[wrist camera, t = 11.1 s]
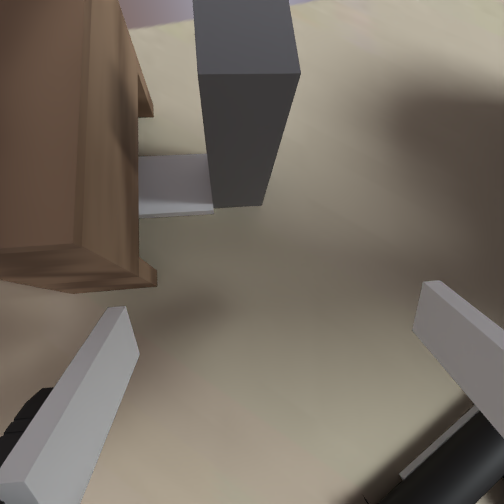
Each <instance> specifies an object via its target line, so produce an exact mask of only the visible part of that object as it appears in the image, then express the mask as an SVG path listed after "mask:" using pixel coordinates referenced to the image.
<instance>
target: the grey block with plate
mask: <svg viewBox="0 0 504 504" xmlns="http://www.w3.org/2000/svg"><path fill="white" fill-rule="evenodd" d="M193 11H194V26H195V41H196V56H197V71H198V81H199V90H200V98H201V107H202V115H203V124H204V133H205V141H206V150H207V154H187V155H162V156H138V184H139V219H140V218H156V217H173V216H189V215H205V214H214V211H213V208H225V207H242V206H259V205H262V203H263V199H264V196H265V193H266V189H267V186H268V182H269V179H270V176H271V172H272V169H273V166H274V162H275V159H276V155H277V152H278V149H279V145H280V142H281V139H282V135H283V132H284V129H285V125H286V122H287V118H288V115H289V112H290V108H291V105H292V102H293V98H294V95H295V91H296V88H297V85H298V81H299V78H300V75H301V71H300V65H299V59H298V53H297V48H296V42H295V36H294V30H293V24H292V18H291V12H290V6H289V0H193Z"/></svg>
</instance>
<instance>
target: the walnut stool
mask: <svg viewBox="0 0 504 504" xmlns="http://www.w3.org/2000/svg"><path fill="white" fill-rule="evenodd" d="M138 117H154V115H153V103H152V100H151V97H150V94H149V91H148V88H147V85H146V82H145V79H144V76H143V73H142V70H141V67H140V64H139V61H138V58H137V55H136V52H135V49H134V46H133V44H132V41H131V38H130V35H129V32H128V29H127V26H126V23H125V20H124V17H123V14H122V11H121V8H120V5H119V2H118V0H0V280H4V281H9V282H14V283H20V284H25V285H30V286H35V287H40V288H45V289H51V290H56V291H61V292H66V293H71V294H75V293H87V292H99V291H110V290H122V289H133V288H145V287H157V270H155V269H154V268H153V267H151V266H150V265H149V264H147V263H146V262H145V261H143V260H142V259H141V258H140V257H139V184H138Z"/></svg>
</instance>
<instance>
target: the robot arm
mask: <svg viewBox="0 0 504 504" xmlns="http://www.w3.org/2000/svg"><path fill="white" fill-rule="evenodd" d="M412 331H413V332H414V333H415V334H416V336H417V337H418V338H419V339H420V340H421V342H422V343H423V344H424V345H425V346H426V347H427V349H428V350H429V351H430V352H431V353H432V355H433V356H434V357H435V358H436V359H437V360H438V362H439V363H440V364H441V365H442V366H443V367H444V369H445V370H446V371H447V372H448V373H449V375H450V376H451V377H452V378H453V379H454V380H455V382H456V383H457V384H458V385H459V386H460V388H461V389H462V390H463V391H464V392H465V393H466V395H467V396H468V397H469V398H470V399H471V400H472V402H473V403H474V404H475V405H476V406H477V408H478V409H479V410H480V411H481V412H482V413H483V415H484V416H485V417H486V418H487V419H488V420H489V422H490V423H491V424H492V425H493V426H494V428H495V429H496V430H497V431H498V432H499V433H500V435H501V436H502V437H503V438H504V330H503V329H502V328H501V327H500V326H498V325H497V324H496V323H494V322H493V321H492V320H490V319H489V318H488V317H487V316H485V315H484V314H483V313H481V312H480V311H479V310H478V309H476V308H475V307H474V306H472V305H471V304H470V303H469V302H467V301H466V300H465V299H463V298H462V297H461V296H460V295H458V294H457V293H456V292H454V291H453V290H452V289H451V288H449V287H448V286H447V285H445V284H444V283H443V282H442V281H440V280H436V281H424V282H423V284H422V289H421V293H420V298H419V302H418V306H417V311H416V315H415V320H414V324H413V329H412ZM139 355H140V353H139V349H138V346H137V343H136V339H135V336H134V332H133V329H132V326H131V322H130V319H129V315H128V312H127V309H126V306H119V307H108V308H107V309H106V311H105V312H104V314H103V315H102V317H101V318H100V320H99V321H98V323H97V324H96V326H95V327H94V329H93V330H92V332H91V333H90V335H89V336H88V338H87V339H86V341H85V342H84V344H83V345H82V347H81V348H80V350H79V351H78V353H77V354H76V356H75V357H74V359H73V360H72V362H71V363H70V365H69V366H68V367H67V369H66V370H65V372H64V373H63V375H62V376H61V378H60V379H59V381H58V382H57V384H56V385H55V387H52V388H42V389H41V390H40V391H39V392H38V393H36V394H35V395H34V396H33V397H32V398H31V399H30V400H28V401H27V402H26V403H25V405H24V406H23V407H22V409H21V410H20V411H19V413H18V414H17V416H16V417H15V418H14V422H11V424H10V425H9V426H8V428H7V429H6V431H5V432H4V435H3V436H1V437H0V504H80V503H81V500H82V498H83V495H84V493H85V490H86V488H87V485H88V483H89V480H90V478H91V475H92V473H93V470H94V468H95V465H96V463H97V460H98V458H99V455H100V453H101V450H102V448H103V445H104V443H105V440H106V438H107V435H108V433H109V430H110V428H111V425H112V423H113V420H114V418H115V415H116V413H117V410H118V408H119V405H120V403H121V400H122V398H123V395H124V393H125V390H126V388H127V385H128V383H129V380H130V378H131V375H132V373H133V370H134V368H135V365H136V363H137V360H138V358H139Z"/></svg>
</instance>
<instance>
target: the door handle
mask: <svg viewBox="0 0 504 504" xmlns="http://www.w3.org/2000/svg"><path fill="white" fill-rule="evenodd" d="M399 475H400V477H401V478H402V480H403V481H402V482H401V483H400V484H399V485H397V486H396V487H395V488H394V489H393V490H392V491H391V492H390V493H389V494H388V495H387V496H385V497H384V498H383V499H382V500H381V501H380V502H379V503H378V504H475V503H476V502H477V501H478V500H479V499H480V498H481V497H482V496H483V495H484V494H485V493H486V492H487V491H488V490H489V489H490V488H491V487H492V486H493V485H494V484H495V483H496V482H497V481H498V480H499V479H500V478H501V477H502V478H503V479H504V438H503V437H502V436H501V435H500V433H499V432H498V431H497V430H496V429H495V428H494V426H493V425H492V424H491V423H490V422H489V420H488V419H487V418H486V417H485V416H484V415H483V413H482V412H481V411H480V410H479V409H478V408H477V406H476V405H475V404H474V406H473V407H472V408H471V409H470V410H469V411H468V412H467V413H465V414H464V415H463V416H462V417H461V418H460V419H459V420H458V421H457V422H455V423H454V424H453V425H452V426H451V427H450V428H449V429H448V430H447V431H446V432H444V433H443V434H442V435H441V436H440V437H439V438H438V439H437V440H436V441H434V442H433V443H432V444H431V445H430V446H429V447H428V448H427V449H426V450H425V451H423V452H422V453H421V454H420V455H419V456H418V457H417V458H416V459H415V460H413V461H412V462H411V463H410V464H409V465H408V466H407V467H406V468H405V469H404V470H402V471H401V472H400V473H399ZM364 498H365V497H364ZM365 500H366V499H365ZM366 502H367V500H366ZM367 504H369V503H368V502H367Z"/></svg>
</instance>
